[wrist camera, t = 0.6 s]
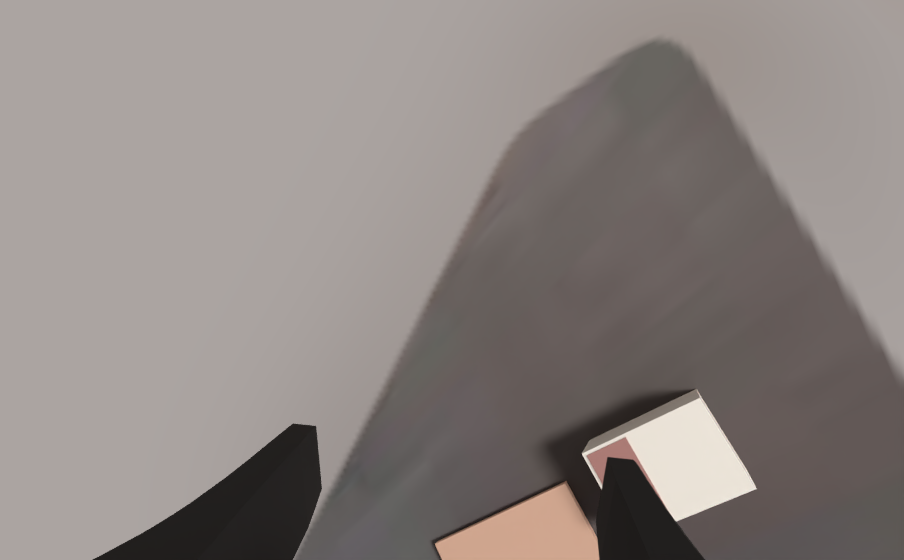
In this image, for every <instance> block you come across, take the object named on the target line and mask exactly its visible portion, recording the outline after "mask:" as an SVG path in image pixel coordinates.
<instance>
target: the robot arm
mask: <svg viewBox="0 0 904 560" xmlns="http://www.w3.org/2000/svg"><path fill="white" fill-rule="evenodd" d="M321 489H322V486H321V476H320V464H319V454H318V442H317V432H316V426H310V425H301V424H292V425H291V426H289V427H288V428H287V429H286V430H285V431H283V432H282V433H281V434H279V435H278V436H277V437H276V438H275V439H273V440H272V441H271V442H270V443H268V444H267V445H266V446H265V447H264V448H262V449H261V450H260V451H259V452H257V453H256V454H255V455H254V456H253V457H251V458H250V459H249V460H248V461H246V462H245V463H244V464H242V465H241V466H240V467H239V468H237V469H236V470H235V471H234V472H232V473H231V474H230V475H229V476H227V477H226V478H225V479H223V480H222V481H220V482H219V483H218V484H216V485H215V486H214V487H212V488H211V489H209V490H208V491H207V492H205V493H204V494H202V495H201V496H200V497H198V498H197V499H196V500H194V501H193V502H191V503H190V504H188V505H187V506H185V507H184V508H182V509H181V510H179V511H178V512H176V513H175V514H174V515H172V516H170V517H168V518H167V519H165V520H163V521H162V522H160V523H159V524H157V525H155V526H154V527H152V528H151V529H149V530H147V531H145V532H144V533H142V534H140V535H138V536H136V537H134V538H133V539H131V540H129V541H127V542H125V543H123V544H121V545H120V546H118V547H116V548H114V549H112V550H110V551H109V552H107V553H105V554H103V555H101V556H99V557H97V558H95V559H93V560H293V558H294V556H295V554H296V552H297V550H298V548H299V546H300V544H301V541H302V539H303V537H304V535H305V533H306V531H307V529H308V527H309V524H310V521H311V518H312V516H313V513H314V510H315V507H316V504H317V501H318V498H319V495H320V492H321ZM596 526H597V539H598V551H599V560H705V559H704V558H703V557H702V555H701V554H700V553H699V552H698V550H697V549H696V548H695V546H694V545H693V544H692V543H691V541H690V540H689V539H688V537H687V536H686V535H685V533H684V532H683V530H682V529H681V528H680V526H679V525H678V524H677V522H676V521H675V520H674V518H673V517H672V515H671V514H670V513H669V511H668V510H667V508H666V507H665V505H664V504H663V502H662V501H661V499H660V498H659V497H658V495H657V494H656V492H655V491H654V489H653V487H652V486H651V484H650V483H649V481H648V480H647V478H646V477H645V475H644V473H643V472H642V470H641V469H640V467H639V466H638V464H637V463H636V462H635V461H634V460H633V459H623V458H614V457H607V462H606V468H605V473H604V479H603V485H602V490H601V496H600V502H599V507H598V513H597V519H596Z"/></svg>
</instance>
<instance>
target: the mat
mask: <svg viewBox="0 0 904 560" xmlns="http://www.w3.org/2000/svg"><path fill="white" fill-rule="evenodd" d="M435 546H436V548H437V550H438V552H439V554H440V556H441V558H442V560H599V551H598V539H597V537H596V535H595V533H594V531H593V529H592V527H591V526H590V524H589V522H588V520H587V518H586V516H585V514H584V513H583V511H582V509H581V507H580V505H579V503H578V502H577V500H576V498H575V496H574V494H573V492H572V491H571V489H570V487H569V485H568V483H567V481H565V482H563V483H561V484H559V485H557V486H554V487H552V488H550V489H548V490H546V491H544V492H542V493H539V494H537V495H535V496H533V497H531V498H529V499H527V500H524V501H522V502H520V503H518V504H516V505H514V506H512V507H509V508H507V509H505V510H503V511H501V512H499V513H497V514H494V515H492V516H490V517H488V518H486V519H484V520H482V521H479V522H477V523H475V524H473V525H471V526H469V527H467V528H464V529H462V530H460V531H458V532H456V533H454V534H452V535H449V536H447V537H445V538H443V539H441V540H439V541H437V542H436V543H435Z"/></svg>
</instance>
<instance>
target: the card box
mask: <svg viewBox="0 0 904 560" xmlns="http://www.w3.org/2000/svg"><path fill="white" fill-rule="evenodd" d="M582 455H583V457H584V459H585V460H586V462H587V464H588V466H589V468H590V470H591V471H592V473H593V475H594V477H595V479H596V480H597V482H598V484H599V486H600V488H601V489H602V485H603V479H604V473H605V468H606V462H607V457H614V458H623V459H633V460H634V461H635V462H636V463H637V464H638V466H639V467H640V469H641V470H642V472H643V473H644V475H645V477H646V478H647V480H648V481H649V483H650V484H651V486H652V487H653V489H654V491H655V492H656V494H657V495H658V497H659V498H660V499H661V501H662V502H663V504H664V505H665V507H666V508H667V510H668V511H669V513H670V514H671V515H672V517H673V518H674V520H675V521H679V520H681V519H683V518H686V517H688V516H691V515H693V514H696V513H698V512H701V511H703V510H706V509H708V508H711V507H713V506H715V505H718V504H720V503H723V502H725V501H728V500H730V499H733V498H735V497H738V496H740V495H742V494H745V493H747V492H750V491H752V490H755V489H757V488H756V486H755V485H754V483H753V481H752V479H751V477H750V475H749V473H748V471H747V469H746V468H745V466H744V465H743V463H742V461H741V460H740V458H739V457H738V455H737V453H736V452H735V450H734V449H733V447H732V445H731V444H730V442H729V441H728V439H727V437H726V436H725V434H724V432H723V431H722V429H721V428H720V426H719V424H718V423H717V421H716V420H715V418H714V416H713V415H712V413H711V412H710V410H709V408H708V407H707V405H706V404H705V402H704V400H703V399H702V397H701V396H700V394H699V392H698V391H697V389H695V390H693V391H691V392H689V393H687V394H685V395H682V396H680V397H678V398H676V399H674V400H672V401H670V402H668V403H666V404H664V405H662V406H660V407H657V408H655V409H653V410H651V411H649V412H647V413H645V414H643V415H641V416H639V417H637V418H635V419H632V420H630V421H628V422H626V423H624V424H622V425H620V426H618V427H616V428H614V429H612V430H609V431H607V432H605V433H603V434H601V435H599V436H597V437H595V438H593V439H591V440H589V441H588V443H587V445H586V447H585V449H584V450H583V452H582Z"/></svg>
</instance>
